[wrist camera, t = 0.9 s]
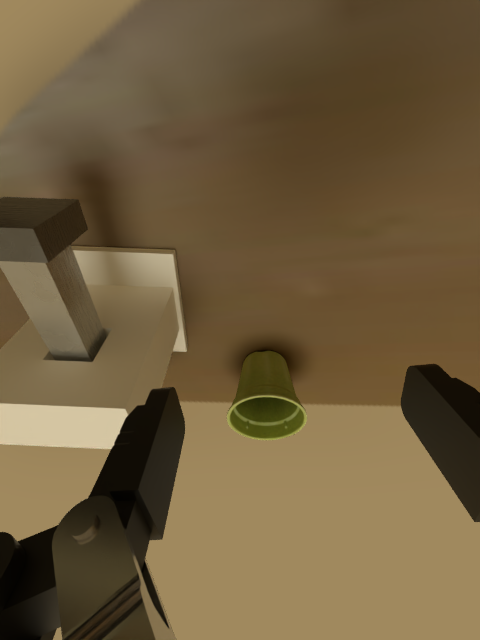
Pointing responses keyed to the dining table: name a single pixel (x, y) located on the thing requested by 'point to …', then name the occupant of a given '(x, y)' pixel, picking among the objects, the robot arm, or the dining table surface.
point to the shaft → (50, 273)
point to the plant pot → (266, 399)
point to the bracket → (109, 364)
